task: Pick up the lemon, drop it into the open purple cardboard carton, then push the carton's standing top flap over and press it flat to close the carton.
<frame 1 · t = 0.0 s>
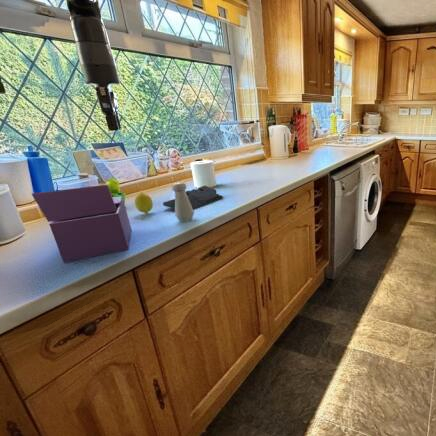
hand: (115, 129, 83), 31 cm above the countertop, tool pointing down, fingers open, 8 cm apart
flap: (77, 203, 72), point 15 cm above the countertop, hinge at 115.0°
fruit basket: (113, 207, 122), on the countertop
salt shaker: (186, 220, 103), on the countertop
dark slate chunk: (193, 203, 124), on the countertop
lemon: (146, 214, 112), on the countertop
carton: (101, 244, 86), on the countertop
toilet paper: (206, 186, 152), on the countertop
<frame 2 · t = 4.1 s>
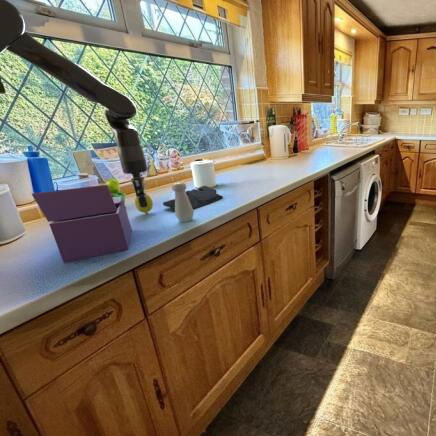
hand: (144, 204, 111), 4 cm above the countertop, tool pointing down, fingers closed on lemon, 5 cm apart
lemon: (146, 214, 112), on the countertop, touching gripper
everything else where it was.
when the fingers open (11 cm above the countertop, at t = 11.5 s): lemon drops 3 cm, resting on carton.
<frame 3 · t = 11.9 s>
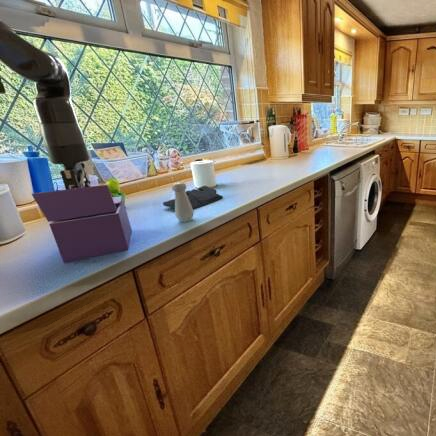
hand: (85, 206, 78), 13 cm above the countertop, tool pointing down, fingers open, 8 cm apart
lemon: (94, 234, 83), point 4 cm above the countertop, touching carton
everything else where it was.
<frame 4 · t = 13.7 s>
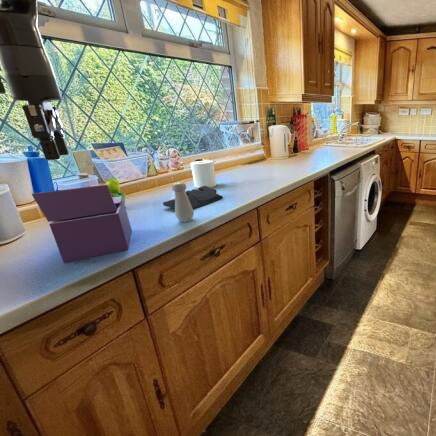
hand: (58, 157, 65), 26 cm above the countertop, tool pointing down, fingers open, 8 cm apart
lemon: (106, 234, 84), point 3 cm above the countertop, touching carton
everything else where it was.
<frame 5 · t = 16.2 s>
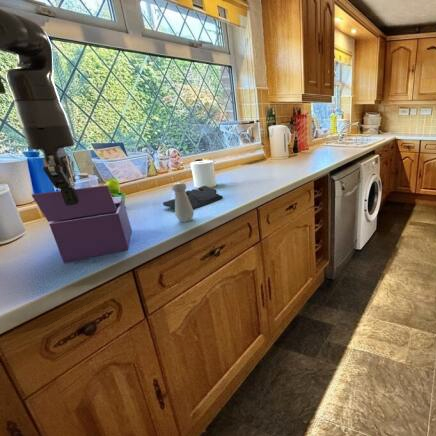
hand: (72, 204, 68), 16 cm above the countertop, tool pointing down, fingers closed
flap: (77, 203, 72), point 15 cm above the countertop, hinge at 117.3°, touching gripper
lemon: (117, 231, 86), point 3 cm above the countertop, touching carton
everything else where it was.
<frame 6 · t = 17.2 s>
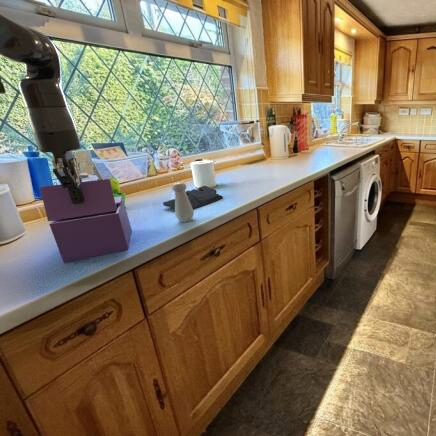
hand: (79, 203, 73), 15 cm above the countertop, tool pointing down, fingers closed
flap: (80, 199, 75), point 15 cm above the countertop, hinge at 72.1°, touching gripper
everything else where it was.
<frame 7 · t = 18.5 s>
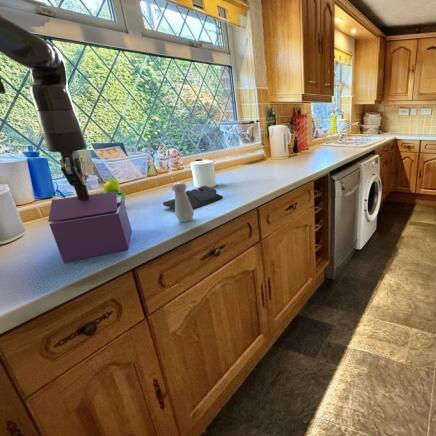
hand: (84, 199, 79), 14 cm above the countertop, tool pointing down, fingers closed
flap: (84, 205, 78), point 13 cm above the countertop, hinge at 24.2°
everything else where it was.
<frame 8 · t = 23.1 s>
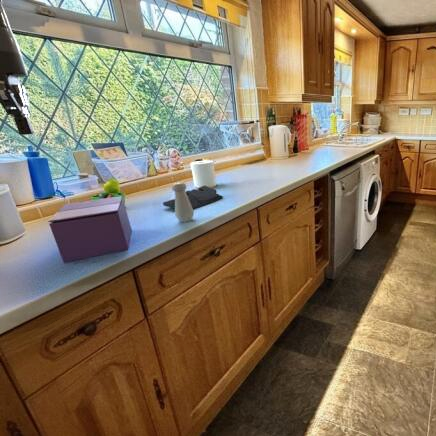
hand: (26, 134, 71), 31 cm above the countertop, tool pointing down, fingers closed
flap: (87, 211, 79), point 11 cm above the countertop, hinge at -0.4°
everything else where it was.
at the end: lemon inside the target area in the carton (4.6 cm from its centre), point 3.2 cm above the carton's base; flap at +0° (first picture: +115°) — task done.
